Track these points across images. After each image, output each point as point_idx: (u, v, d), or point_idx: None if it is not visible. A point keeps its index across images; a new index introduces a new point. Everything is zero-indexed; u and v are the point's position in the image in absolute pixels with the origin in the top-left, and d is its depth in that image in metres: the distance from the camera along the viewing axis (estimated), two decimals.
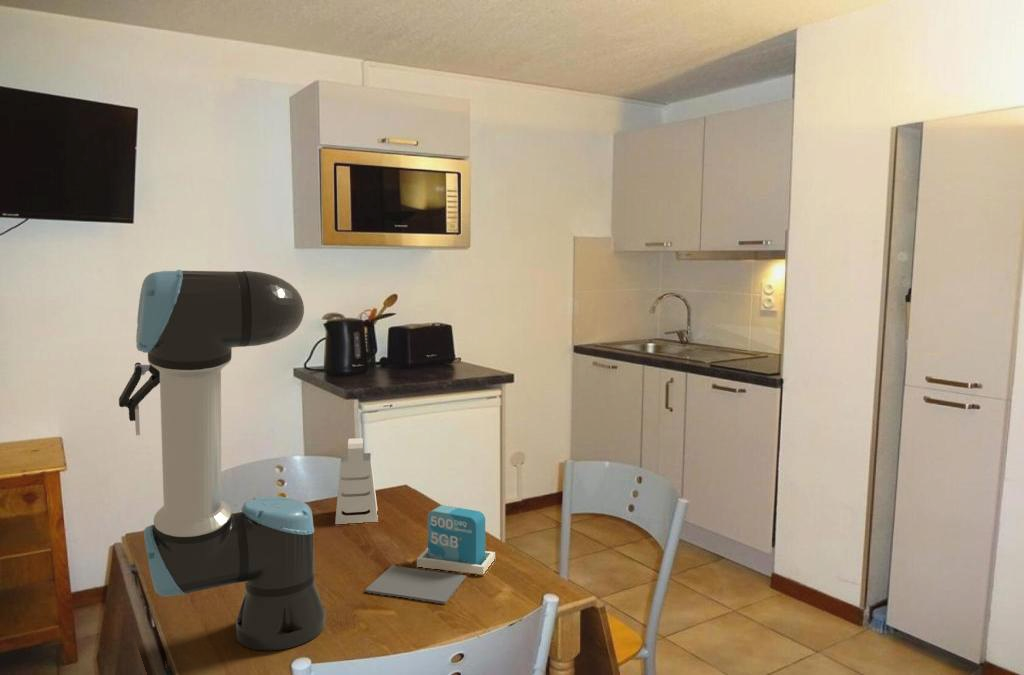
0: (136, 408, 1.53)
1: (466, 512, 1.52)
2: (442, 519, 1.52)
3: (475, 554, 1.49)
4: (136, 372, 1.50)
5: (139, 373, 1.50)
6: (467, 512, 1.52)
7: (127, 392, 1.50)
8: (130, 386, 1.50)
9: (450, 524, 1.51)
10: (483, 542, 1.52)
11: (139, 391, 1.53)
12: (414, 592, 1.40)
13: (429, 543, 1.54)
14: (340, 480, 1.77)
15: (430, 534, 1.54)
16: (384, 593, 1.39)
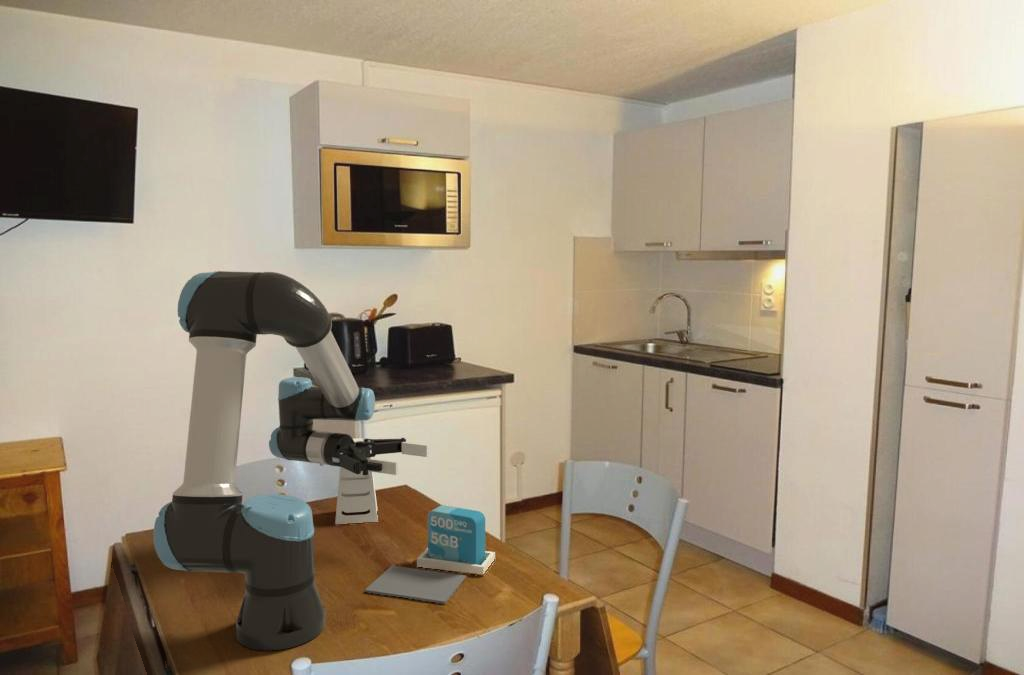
0: None
1: (466, 512, 1.52)
2: (442, 519, 1.52)
3: (475, 554, 1.49)
4: (336, 454, 1.55)
5: (338, 454, 1.55)
6: (467, 512, 1.52)
7: (349, 459, 1.51)
8: (345, 457, 1.53)
9: (450, 524, 1.51)
10: (483, 542, 1.52)
11: None
12: (414, 592, 1.40)
13: (429, 543, 1.54)
14: (340, 480, 1.77)
15: (430, 534, 1.54)
16: (384, 593, 1.39)
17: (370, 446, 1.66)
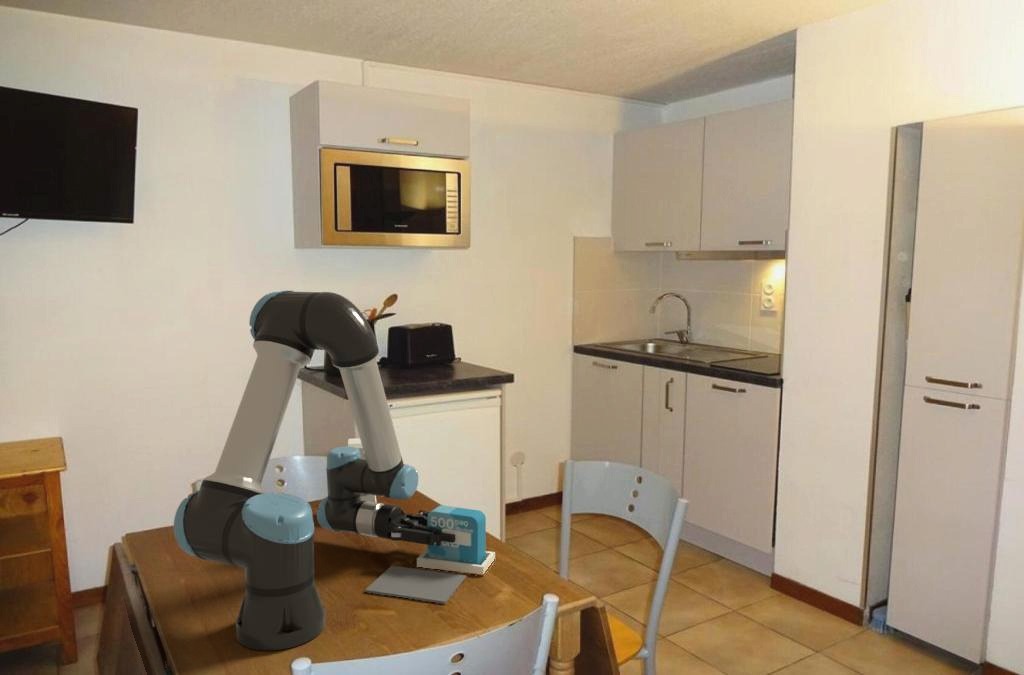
0: None
1: (466, 512, 1.52)
2: (442, 519, 1.52)
3: (477, 553, 1.50)
4: (396, 529, 1.52)
5: (398, 528, 1.52)
6: (467, 511, 1.52)
7: (417, 531, 1.51)
8: (411, 531, 1.51)
9: (451, 524, 1.51)
10: (484, 541, 1.53)
11: None
12: (414, 592, 1.40)
13: None
14: None
15: None
16: (384, 593, 1.39)
17: None
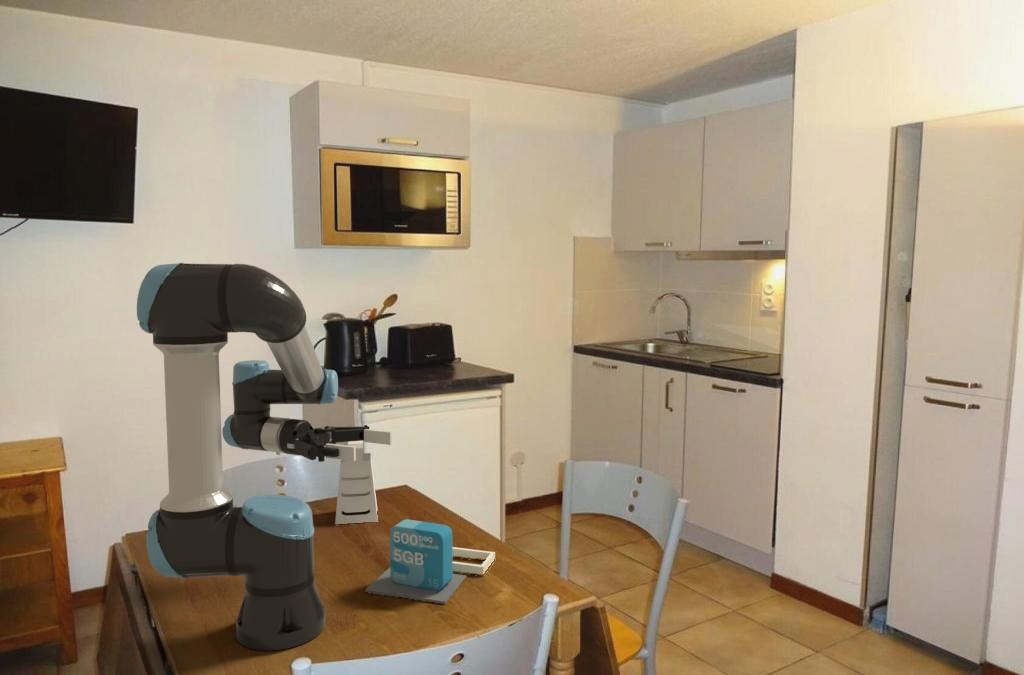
0: None
1: (431, 527, 1.42)
2: (406, 535, 1.41)
3: (442, 572, 1.39)
4: (291, 440, 1.44)
5: (294, 439, 1.44)
6: (433, 526, 1.42)
7: (304, 444, 1.41)
8: (300, 443, 1.42)
9: (415, 540, 1.41)
10: (450, 558, 1.42)
11: None
12: (414, 592, 1.40)
13: (391, 561, 1.43)
14: (340, 480, 1.77)
15: (393, 551, 1.43)
16: (384, 593, 1.39)
17: (331, 434, 1.55)
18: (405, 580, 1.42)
